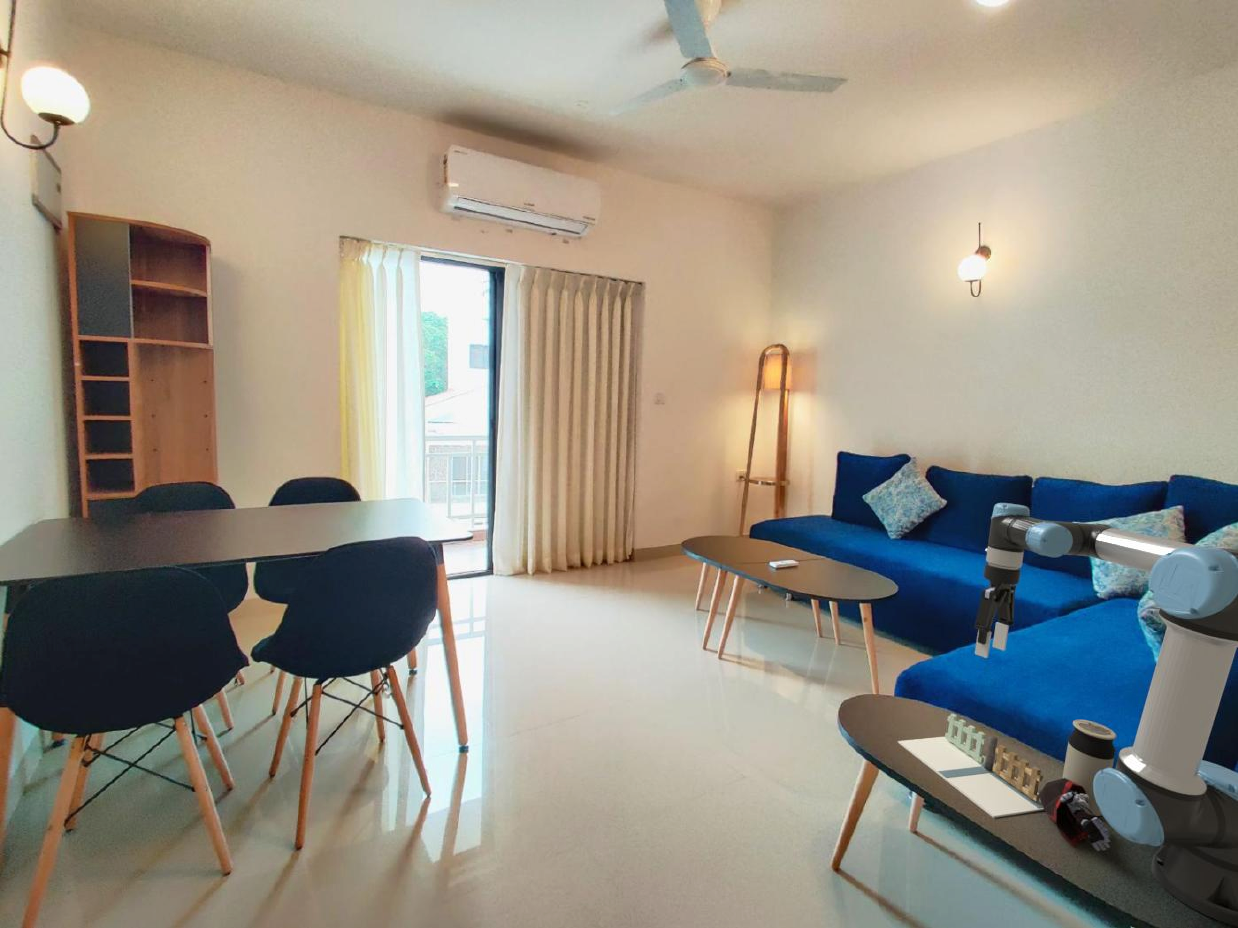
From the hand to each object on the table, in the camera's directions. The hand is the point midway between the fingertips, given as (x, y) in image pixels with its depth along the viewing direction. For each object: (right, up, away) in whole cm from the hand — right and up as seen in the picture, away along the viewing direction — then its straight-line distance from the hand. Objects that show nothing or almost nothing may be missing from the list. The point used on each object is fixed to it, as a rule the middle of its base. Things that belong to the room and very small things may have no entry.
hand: (990, 651), depth 150 cm
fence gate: (-7, -24, -1) cm, 25 cm away
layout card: (-10, -26, -9) cm, 29 cm away
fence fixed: (-4, -27, -13) cm, 30 cm away
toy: (-1, -29, -27) cm, 39 cm away
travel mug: (+9, -28, -18) cm, 35 cm away
